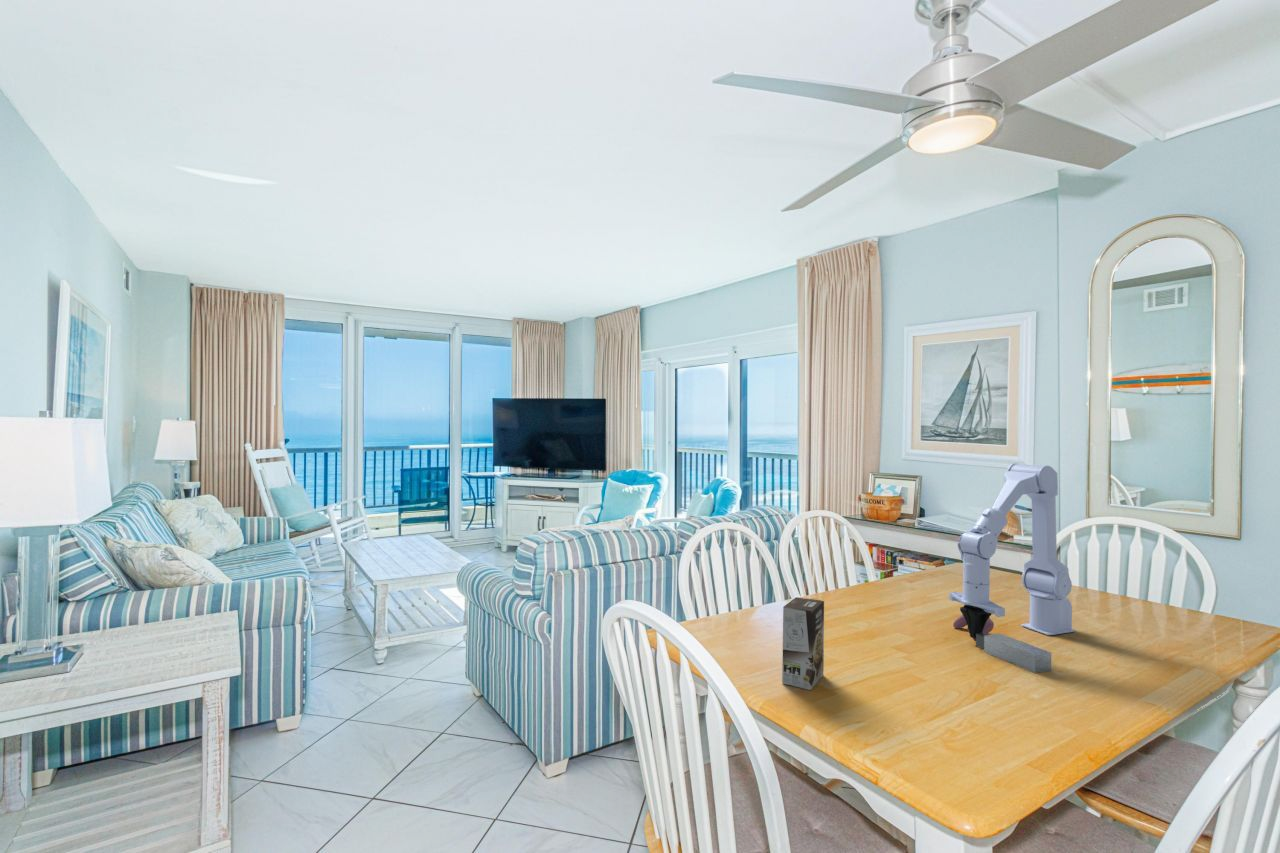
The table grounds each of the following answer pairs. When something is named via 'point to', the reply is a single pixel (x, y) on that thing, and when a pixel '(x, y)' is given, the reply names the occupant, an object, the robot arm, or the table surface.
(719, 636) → the table surface
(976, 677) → the table surface
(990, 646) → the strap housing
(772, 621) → the table surface
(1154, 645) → the table surface
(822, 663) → the coffee box
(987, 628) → the video game controller
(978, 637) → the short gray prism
